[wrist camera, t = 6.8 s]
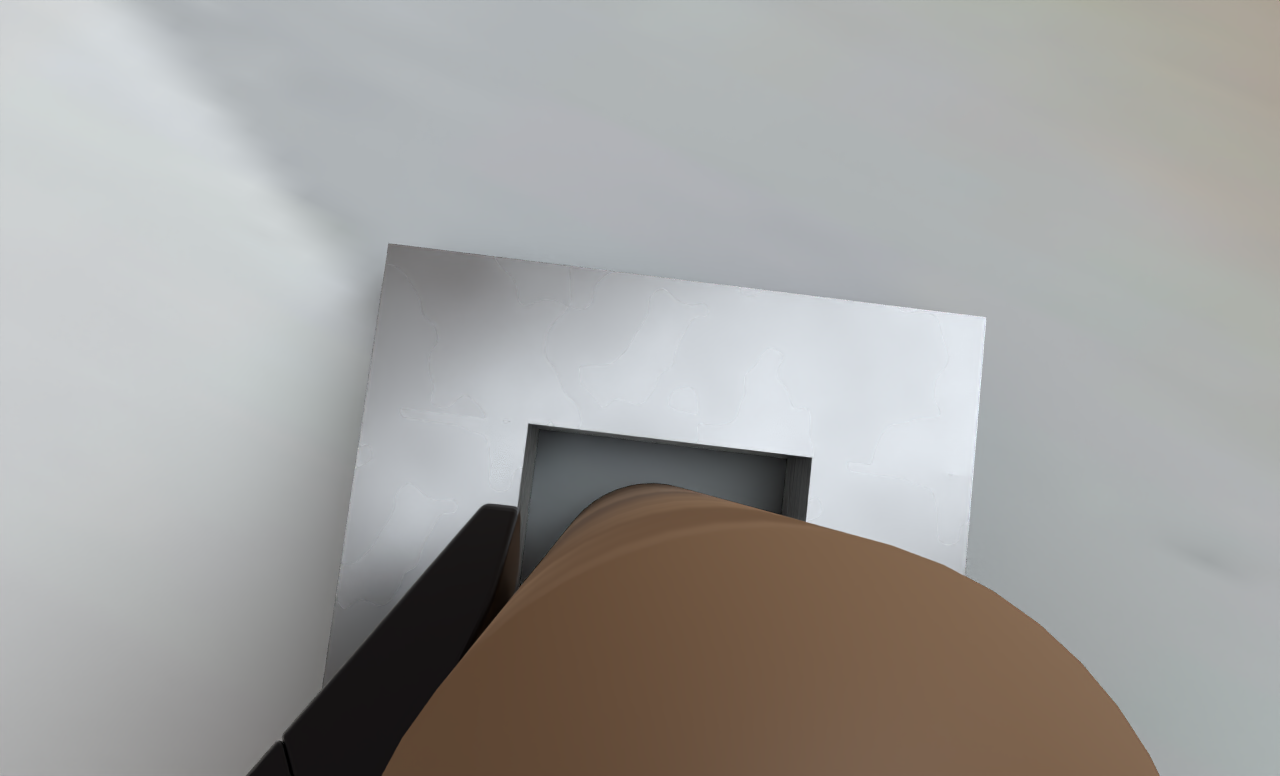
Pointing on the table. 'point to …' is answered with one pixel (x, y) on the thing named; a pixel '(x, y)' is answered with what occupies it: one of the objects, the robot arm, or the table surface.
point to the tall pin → (759, 662)
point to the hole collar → (645, 405)
